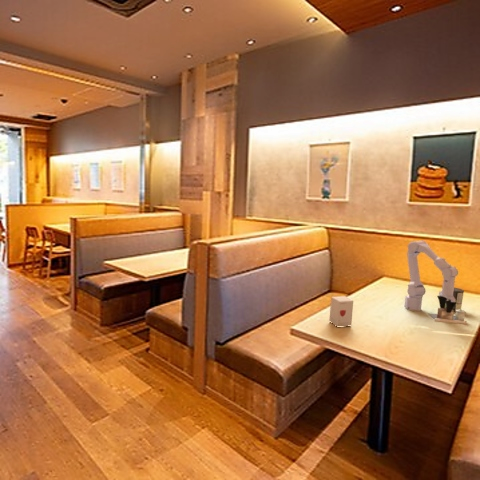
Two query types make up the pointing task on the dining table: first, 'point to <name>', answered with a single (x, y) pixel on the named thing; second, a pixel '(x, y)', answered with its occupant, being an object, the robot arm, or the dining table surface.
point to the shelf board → (446, 319)
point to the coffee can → (457, 298)
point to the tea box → (444, 314)
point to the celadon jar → (460, 315)
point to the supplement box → (341, 311)
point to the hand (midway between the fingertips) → (445, 310)
